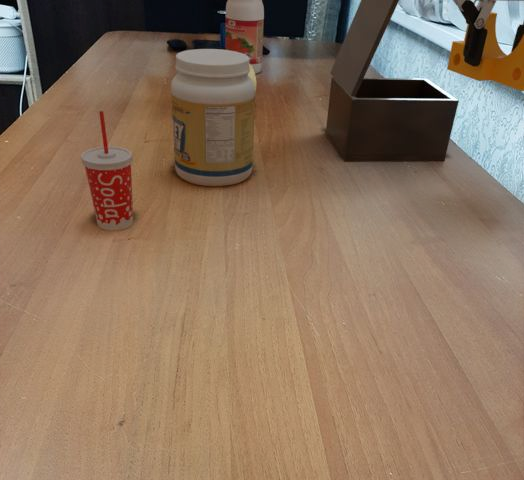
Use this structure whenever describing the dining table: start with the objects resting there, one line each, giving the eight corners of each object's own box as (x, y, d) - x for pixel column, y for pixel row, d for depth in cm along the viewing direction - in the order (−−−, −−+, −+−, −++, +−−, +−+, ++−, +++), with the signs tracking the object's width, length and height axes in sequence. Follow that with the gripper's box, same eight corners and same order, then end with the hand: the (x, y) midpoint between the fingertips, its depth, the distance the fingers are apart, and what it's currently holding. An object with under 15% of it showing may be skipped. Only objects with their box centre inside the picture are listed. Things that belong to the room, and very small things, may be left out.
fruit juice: (269, 72, 147) (275, -61, 130) (241, 77, 142) (244, -61, 125) (245, 65, 153) (248, -64, 136) (218, 69, 148) (217, -64, 130)
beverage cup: (84, 230, 73) (65, 116, 64) (101, 211, 77) (85, 102, 69) (130, 235, 72) (117, 121, 64) (145, 215, 77) (135, 106, 68)
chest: (415, 133, 111) (426, 78, 105) (444, 161, 99) (459, 100, 93) (325, 133, 109) (331, 77, 102) (344, 161, 97) (352, 99, 91)
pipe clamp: (447, 69, 74) (458, 12, 70) (474, 67, 76) (487, 11, 72) (509, 92, 66) (526, 28, 62) (538, 89, 67) (557, 27, 63)
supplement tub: (167, 164, 92) (159, 48, 82) (238, 157, 96) (239, 46, 86) (186, 193, 83) (181, 67, 73) (264, 184, 87) (269, 63, 77)
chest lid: (383, -41, 92) (356, -55, 91) (414, -33, 81) (384, -49, 79) (333, 75, 102) (309, 64, 101) (354, 97, 91) (327, 85, 89)
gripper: (479, -135, 54) (438, 71, 66) (642, -129, 56) (576, 70, 68) (449, -131, 60) (417, 57, 72) (598, -126, 62) (544, 57, 73)
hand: (494, 62), depth 69 cm, fingers closed on pipe clamp, 5 cm apart
